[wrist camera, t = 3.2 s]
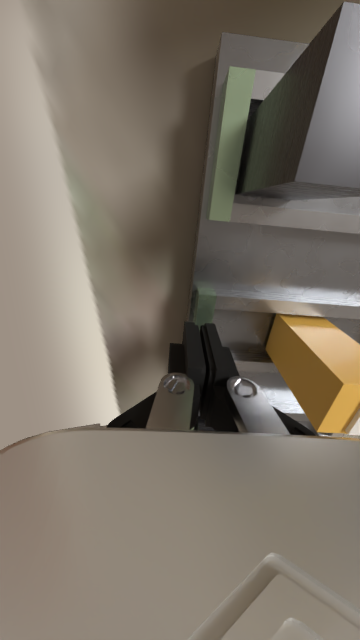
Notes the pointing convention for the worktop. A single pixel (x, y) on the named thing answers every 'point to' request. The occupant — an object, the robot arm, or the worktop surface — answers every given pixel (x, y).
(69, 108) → the worktop surface
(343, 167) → the compartment sorting tray
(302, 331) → the handle
